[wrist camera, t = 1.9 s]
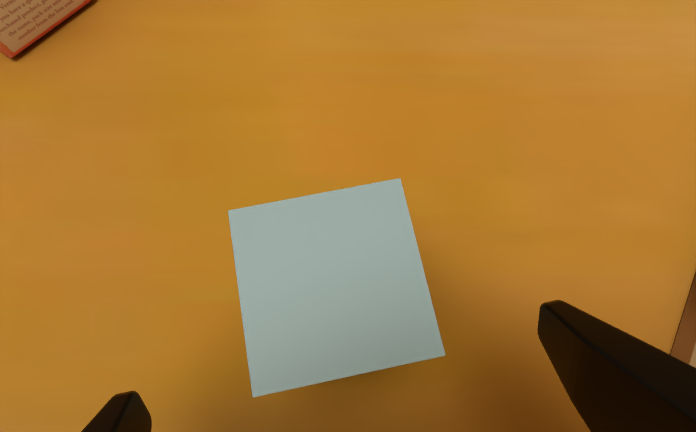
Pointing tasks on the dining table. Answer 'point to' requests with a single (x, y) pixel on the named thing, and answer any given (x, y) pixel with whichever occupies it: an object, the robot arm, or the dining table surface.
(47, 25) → the cracker box
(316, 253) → the pale gray block
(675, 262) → the dining table surface
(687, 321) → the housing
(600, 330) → the robot arm
